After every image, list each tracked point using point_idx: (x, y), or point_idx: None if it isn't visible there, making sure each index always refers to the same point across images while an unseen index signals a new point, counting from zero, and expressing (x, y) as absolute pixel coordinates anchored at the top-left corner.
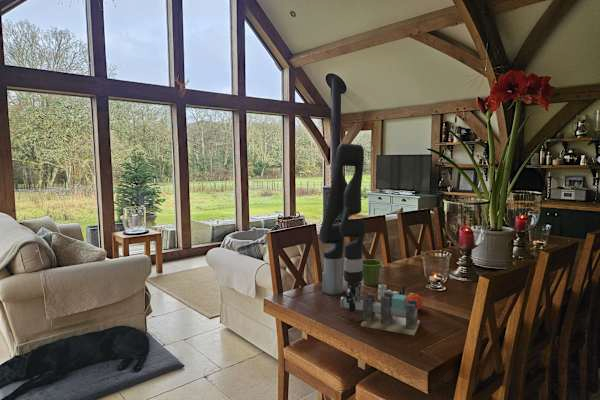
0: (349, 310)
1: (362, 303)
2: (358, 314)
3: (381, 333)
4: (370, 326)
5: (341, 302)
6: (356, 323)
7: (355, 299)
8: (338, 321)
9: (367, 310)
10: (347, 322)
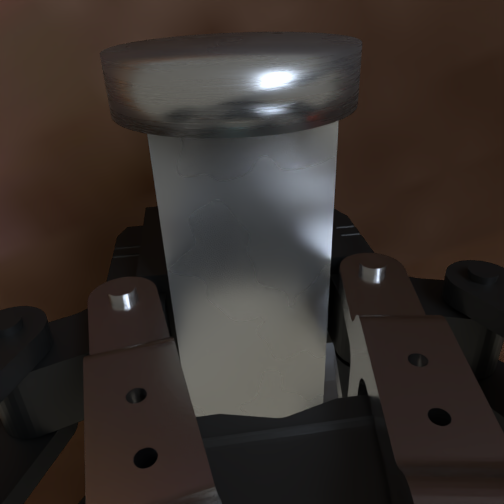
0: (145, 215)
1: None
2: (346, 194)
3: (45, 484)
4: None
5: (110, 97)
6: (102, 268)
7: (303, 341)
8: (13, 54)
9: None
10: (63, 175)
